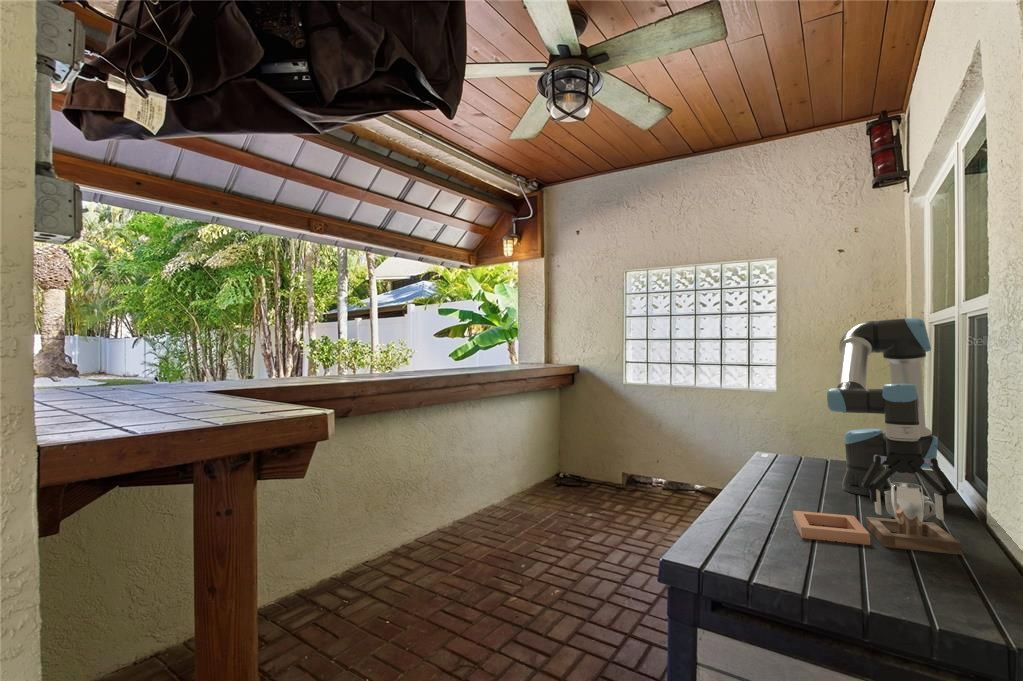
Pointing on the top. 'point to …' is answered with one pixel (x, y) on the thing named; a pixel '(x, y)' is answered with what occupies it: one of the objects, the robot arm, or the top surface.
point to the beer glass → (908, 507)
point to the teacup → (926, 506)
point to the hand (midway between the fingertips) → (908, 516)
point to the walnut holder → (913, 537)
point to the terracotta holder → (850, 535)
